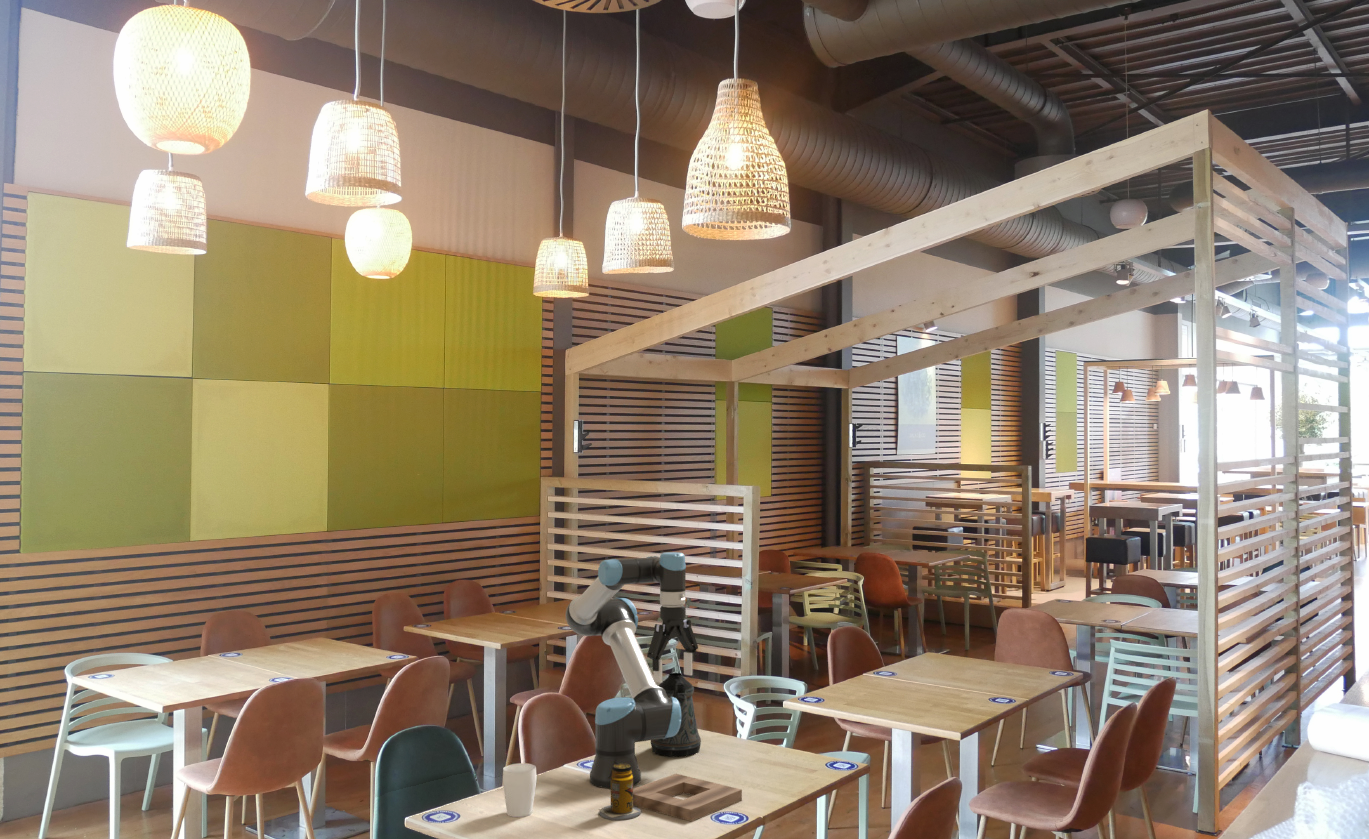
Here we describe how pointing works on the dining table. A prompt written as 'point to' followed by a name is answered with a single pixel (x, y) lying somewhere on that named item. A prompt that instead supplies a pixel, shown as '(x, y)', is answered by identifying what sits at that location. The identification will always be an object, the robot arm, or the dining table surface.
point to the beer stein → (688, 734)
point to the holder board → (692, 808)
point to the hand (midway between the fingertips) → (673, 678)
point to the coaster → (622, 817)
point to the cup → (519, 788)
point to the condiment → (621, 791)
